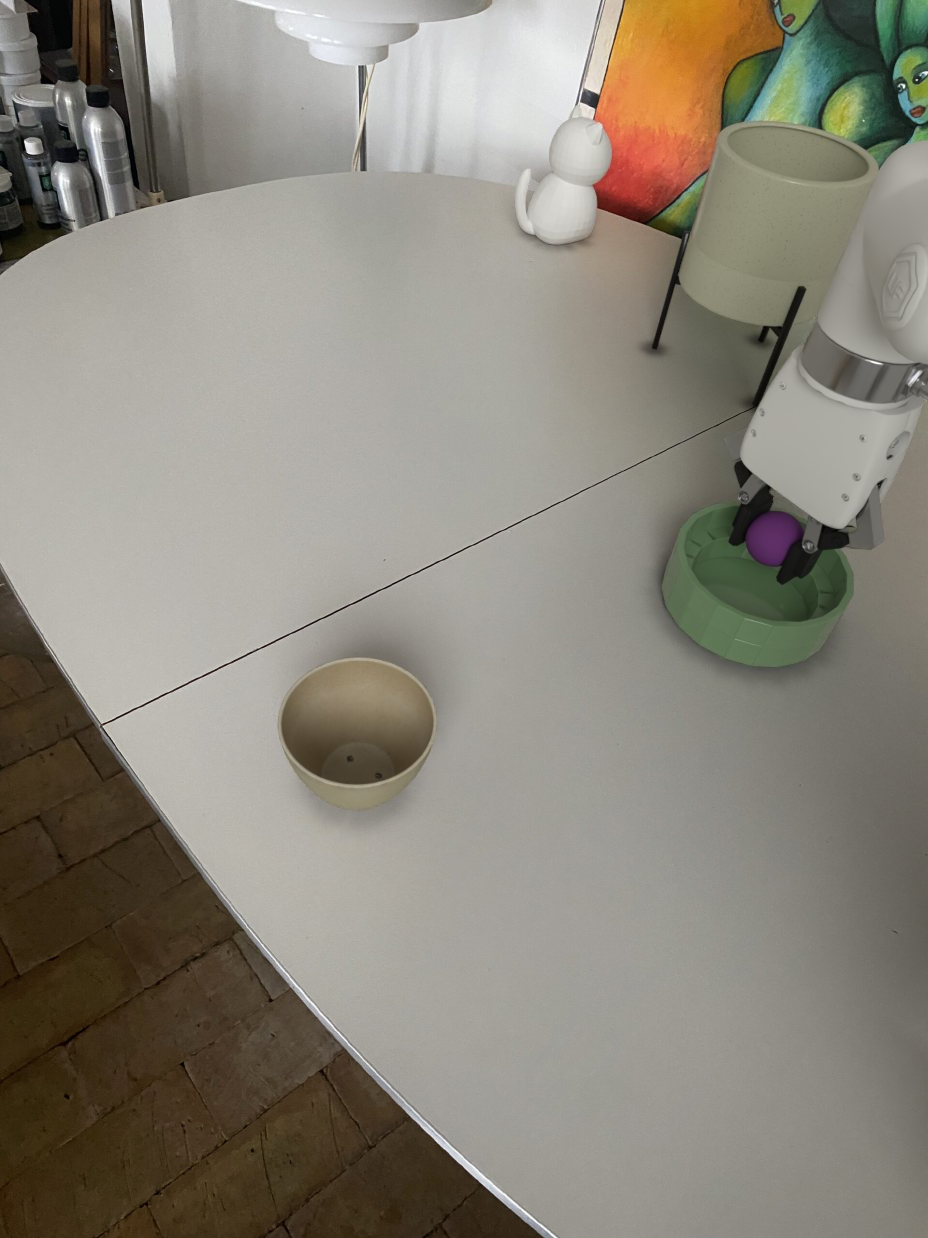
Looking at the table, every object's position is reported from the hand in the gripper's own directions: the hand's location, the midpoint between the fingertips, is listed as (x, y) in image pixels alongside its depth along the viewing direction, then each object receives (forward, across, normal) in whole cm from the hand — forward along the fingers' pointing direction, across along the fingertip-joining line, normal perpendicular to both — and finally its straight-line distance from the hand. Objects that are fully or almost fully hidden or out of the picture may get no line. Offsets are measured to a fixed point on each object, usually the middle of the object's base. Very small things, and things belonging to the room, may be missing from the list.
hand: (766, 555), depth 70 cm
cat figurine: (+6, +60, -30) cm, 67 cm away
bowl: (+6, 0, 0) cm, 6 cm away
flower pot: (+6, +4, +36) cm, 37 cm away
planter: (+6, +27, -27) cm, 39 cm away
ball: (0, 0, 0) cm, 0 cm away
